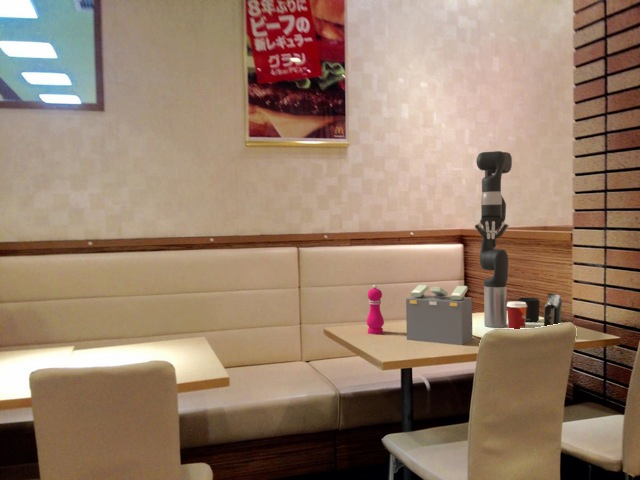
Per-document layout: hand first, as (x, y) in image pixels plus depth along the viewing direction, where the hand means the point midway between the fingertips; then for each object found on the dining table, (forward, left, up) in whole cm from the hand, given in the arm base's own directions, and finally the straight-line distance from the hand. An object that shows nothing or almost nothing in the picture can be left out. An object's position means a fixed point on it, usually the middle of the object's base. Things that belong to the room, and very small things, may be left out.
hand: (491, 248), depth 222 cm
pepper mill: (+9, -46, -35) cm, 59 cm away
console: (+10, -18, -35) cm, 40 cm away
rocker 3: (+10, -10, -16) cm, 21 cm away
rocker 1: (+10, -26, -16) cm, 32 cm away
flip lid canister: (-5, +8, -35) cm, 36 cm away
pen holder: (-45, +4, -35) cm, 57 cm away
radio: (-21, +19, -35) cm, 45 cm away
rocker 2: (+10, -18, -16) cm, 26 cm away
